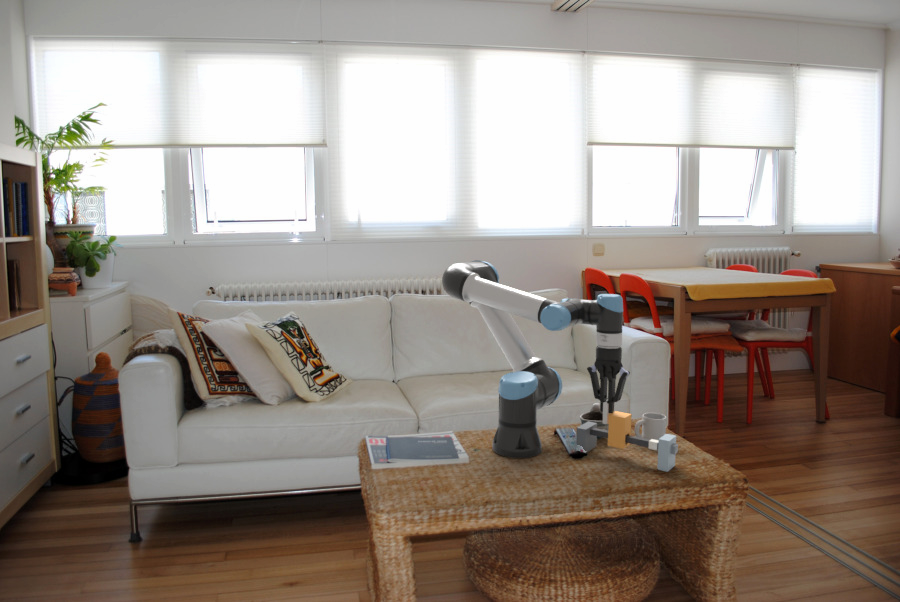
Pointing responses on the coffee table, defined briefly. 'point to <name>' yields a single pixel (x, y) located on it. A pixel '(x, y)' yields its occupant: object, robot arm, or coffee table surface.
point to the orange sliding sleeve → (619, 429)
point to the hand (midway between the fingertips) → (606, 422)
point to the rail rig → (664, 445)
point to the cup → (651, 426)
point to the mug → (594, 417)
